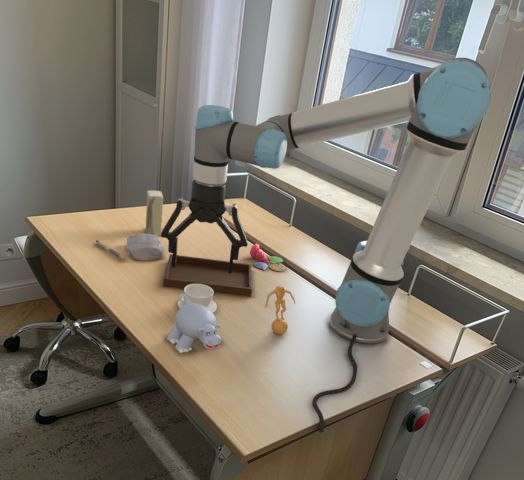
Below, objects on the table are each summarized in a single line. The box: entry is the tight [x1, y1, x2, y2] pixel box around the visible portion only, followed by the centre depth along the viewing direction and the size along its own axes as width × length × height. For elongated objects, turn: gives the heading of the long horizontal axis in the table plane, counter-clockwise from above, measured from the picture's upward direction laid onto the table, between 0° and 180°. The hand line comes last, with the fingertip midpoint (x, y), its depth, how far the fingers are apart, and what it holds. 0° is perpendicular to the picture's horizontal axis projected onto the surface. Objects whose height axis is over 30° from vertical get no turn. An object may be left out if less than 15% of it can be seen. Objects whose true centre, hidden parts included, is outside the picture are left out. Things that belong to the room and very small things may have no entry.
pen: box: [95, 239, 125, 260], centre depth 157 cm, size 1×14×1 cm, turn 47°
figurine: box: [264, 285, 296, 335], centre depth 132 cm, size 8×6×12 cm
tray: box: [162, 253, 253, 298], centre depth 153 cm, size 16×24×2 cm, turn 92°
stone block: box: [126, 232, 164, 262], centre depth 160 cm, size 12×5×10 cm
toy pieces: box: [249, 243, 286, 272], centre depth 166 cm, size 12×11×4 cm
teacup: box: [177, 284, 218, 314], centre depth 138 cm, size 10×10×5 cm
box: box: [145, 190, 164, 236], centre depth 170 cm, size 5×4×13 cm
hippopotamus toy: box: [166, 292, 222, 354], centre depth 123 cm, size 11×15×10 cm
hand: (202, 268), depth 133 cm, fingers open, 13 cm apart
